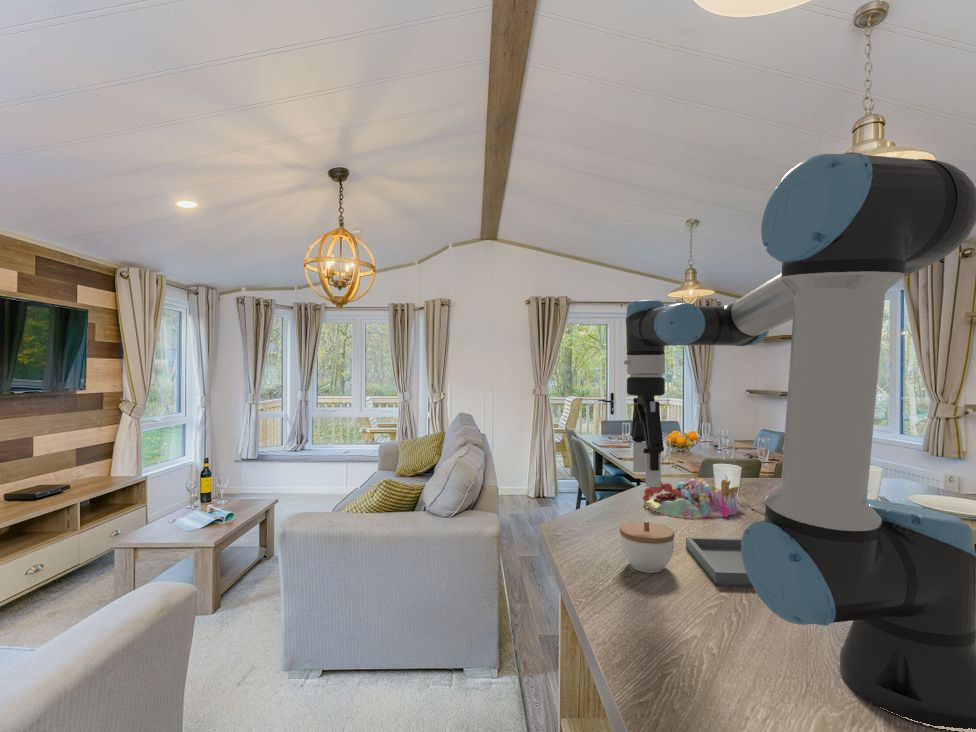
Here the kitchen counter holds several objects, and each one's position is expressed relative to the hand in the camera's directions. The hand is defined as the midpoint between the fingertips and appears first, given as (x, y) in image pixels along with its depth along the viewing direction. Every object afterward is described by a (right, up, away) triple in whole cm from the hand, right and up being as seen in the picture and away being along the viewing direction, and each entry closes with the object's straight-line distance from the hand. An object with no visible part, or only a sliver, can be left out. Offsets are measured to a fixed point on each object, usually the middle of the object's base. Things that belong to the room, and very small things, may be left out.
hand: (646, 478), depth 104 cm
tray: (+21, -18, 0) cm, 28 cm away
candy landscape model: (+27, -19, +44) cm, 55 cm away
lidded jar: (0, -18, 0) cm, 18 cm away
